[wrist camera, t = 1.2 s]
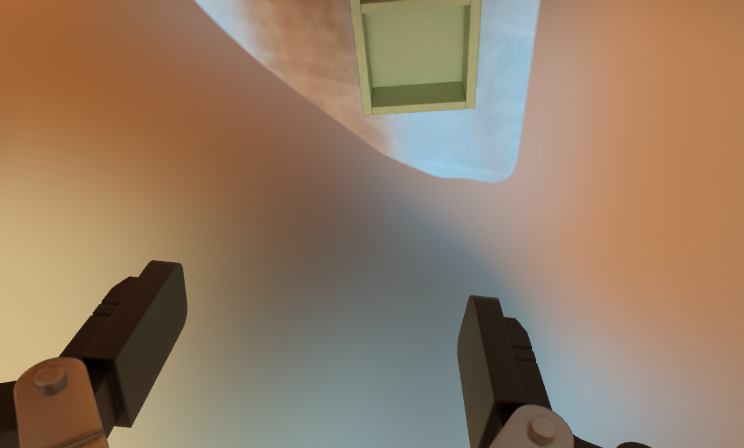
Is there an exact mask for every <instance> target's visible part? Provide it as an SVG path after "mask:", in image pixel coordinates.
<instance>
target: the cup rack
mask: <svg viewBox="0 0 744 448" xmlns="http://www.w3.org/2000/svg"><path fill="white" fill-rule="evenodd" d="M350 8H351V16H352V24H353V32H354V40H355V48H356V57H357V65H358V73H359V81H360V89H361V97H362V105H363V113H364V116H367V115H372V114H373V115H381V114H397V113H412V112H427V111H442V110H457V109H465V108H466V109H474V108H475V97H476V81H477V65H478V49H479V33H480V17H481V0H350Z"/></svg>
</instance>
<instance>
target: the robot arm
mask: <svg viewBox="0 0 744 448" xmlns="http://www.w3.org/2000/svg"><path fill="white" fill-rule="evenodd" d="M186 317H187V298H186V290H185V282H184V273H183V267H182V265H181V264H180V263H174V262H165V261H155V260H152V261H151V262H149V263H148V265H147V266H146V267H145V269H144V270H143V272H142V273H141V274H140V276H139V277H128V278H126V279H125V280H123V281H122V282H120V283H119V284H117V285H116V286H114V287H113V288H112V289H111V290H110V291H109V293H108V294H107V295H106V296H105V298H104V299H103V300H102V303H101V304H99V306H98V307H97V308H96V309H95V311H94V312H93V315H92V316H90V317H89V318H88V320H87V321H86V322H85V323H84V325H83V326H82V327H81V329H80V330H79V331H78V333H77V334H76V335H75V336H74V338H73V339H72V340H71V341H70V343H69V344H68V345H67V347H66V348H65V349H64V351H63V352H62V353H61V354H60V356H59V357H57V358H52V359H48V360H45V361H42V362H40V363H38V364H36V365H34V366H33V367H31V368H29V369H28V370H27V371H25V372H24V373H23V374H22V375H21V376H20V378H19V379H18V380H17V381H11V382H5V383H0V448H109V445H108V442H107V438H108V436H109V435H110V433H111V431H112V429H113V427H114V426H118V427H128V428H131V427H132V425H133V423H134V421H135V419H136V417H137V415H138V413H139V411H140V409H141V407H142V406H143V404H144V402H145V400H146V398H147V396H148V394H149V392H150V390H151V388H152V386H153V385H154V383H155V380H156V379H157V377H158V375H159V373H160V371H161V369H162V367H163V365H164V363H165V362H166V360H167V358H168V356H169V354H170V352H171V350H172V348H173V346H174V344H175V342H176V341H177V339H178V337H179V335H180V333H181V331H182V329H183V327H184V325H185V321H186ZM457 347H458V348H457V356H458V364H459V370H460V378H461V385H462V391H463V399H464V405H465V413H466V420H467V427H468V434H469V441H470V448H602V447H599V446H597V445H594V444H591V443H589V442H586V441H584V440H582V439H580V438H578V437H576V436H575V435H573V434H572V431H571V430H570V427H569V426H568V424H567V423H566V422H565V421H564V420H563V418H561V417H560V416H559V415H558V414H556V413H555V412H554V411H552V408H551V405H550V402H549V399H548V396H547V393H546V390H545V386H544V383H543V380H542V377H541V374H540V371H539V368H538V365H537V363H536V358H535V355H534V352H533V351H532V346H531V343H530V340H529V337H528V334H527V332H526V330H525V329H524V328H523V327H522V326H521V324H520V323H519V322H518V321H517V320H516V319H515V318H508V317H504V316H503V313H502V309H501V306H500V302H499V299H498V298H494V297H484V296H475V295H471V296H470V297H469V299H468V303H467V306H466V310H465V314H464V318H463V321H462V325H461V329H460V333H459V337H458V346H457ZM617 448H651V447H649V446H647V445H644V444H640V443H636V442H626V443H623V444H620V445H619V446H618V447H617Z"/></svg>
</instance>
